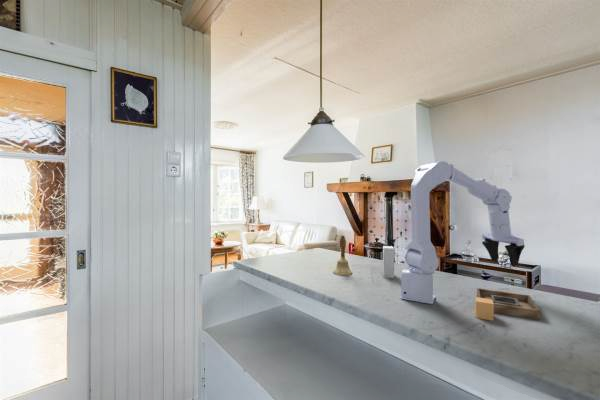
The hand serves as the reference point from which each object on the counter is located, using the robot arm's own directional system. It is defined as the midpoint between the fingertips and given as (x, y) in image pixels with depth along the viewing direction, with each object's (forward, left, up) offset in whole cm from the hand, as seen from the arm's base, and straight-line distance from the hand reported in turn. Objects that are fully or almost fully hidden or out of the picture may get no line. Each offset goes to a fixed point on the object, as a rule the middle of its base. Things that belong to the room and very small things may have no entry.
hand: (504, 262), depth 100 cm
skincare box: (-39, +2, -11) cm, 41 cm away
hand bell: (-57, -3, -11) cm, 58 cm away
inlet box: (-1, -14, -11) cm, 18 cm away
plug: (-7, -26, -11) cm, 29 cm away
